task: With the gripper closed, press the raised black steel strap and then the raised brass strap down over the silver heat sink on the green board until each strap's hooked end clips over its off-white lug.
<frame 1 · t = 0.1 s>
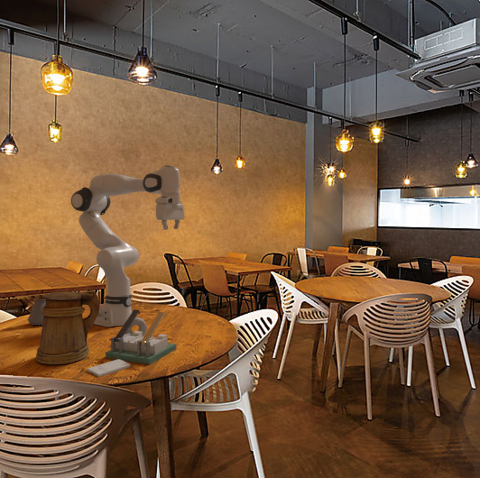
hand: (171, 229, 194), 48 cm above the table, tool pointing down, fingers open, 8 cm apart
board: (142, 353, 162), on the table
coffee pot: (51, 323, 208), on the table
strap black: (127, 325, 163), point 11 cm above the table, hinge at 35.0°
strap brass: (152, 328, 158), point 11 cm above the table, hinge at 35.0°
donut: (135, 340, 180), on the table
external hard drive: (109, 370, 145), on the table
tankard: (69, 356, 159), on the table
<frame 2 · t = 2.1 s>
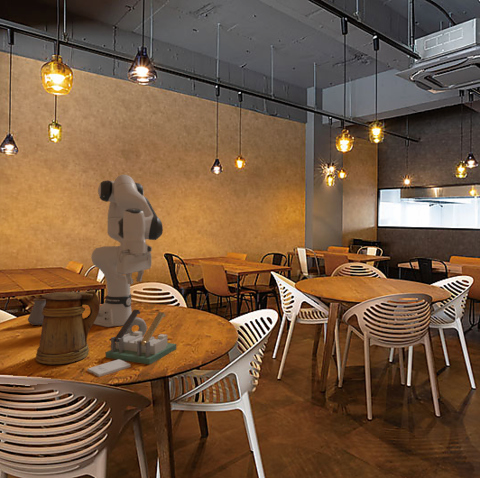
hand: (134, 282, 167), 27 cm above the table, tool pointing down, fingers open, 5 cm apart
nothing on the table moved.
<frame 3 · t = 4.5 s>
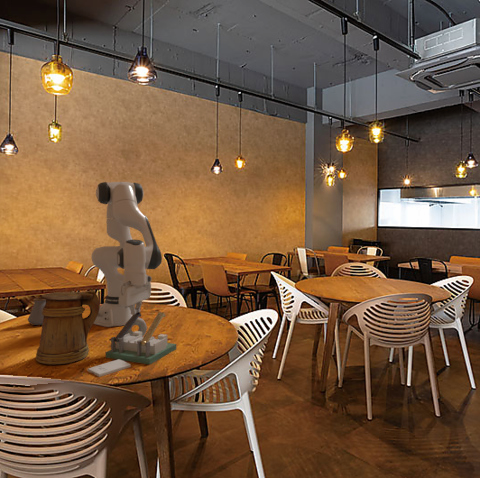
hand: (135, 313, 167), 14 cm above the table, tool pointing down, fingers closed
strap black: (127, 327, 163), point 10 cm above the table, hinge at 29.3°, touching gripper
everything else where it was.
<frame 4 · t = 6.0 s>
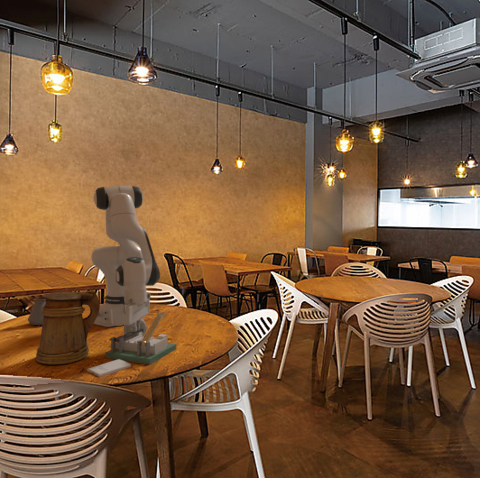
hand: (135, 330, 168), 7 cm above the table, tool pointing down, fingers closed, pressing on strap black
strap black: (129, 335, 164), point 7 cm above the table, hinge at 0.8°, touching gripper
everything else where it was.
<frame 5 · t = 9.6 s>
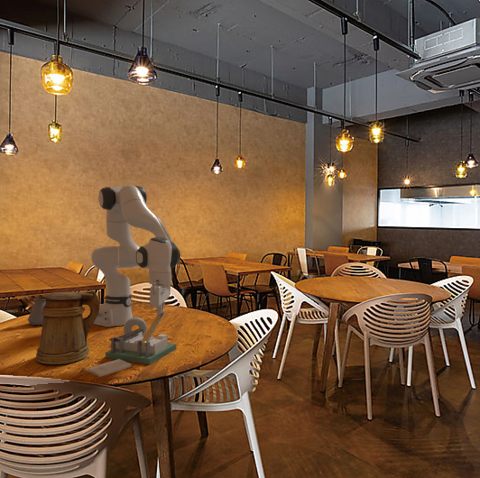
hand: (160, 313, 163), 16 cm above the table, tool pointing down, fingers closed
strap black: (129, 335, 164), point 6 cm above the table, hinge at 0.0°, touching board
strap brass: (152, 329, 158), point 11 cm above the table, hinge at 34.6°, touching gripper
everything else where it was.
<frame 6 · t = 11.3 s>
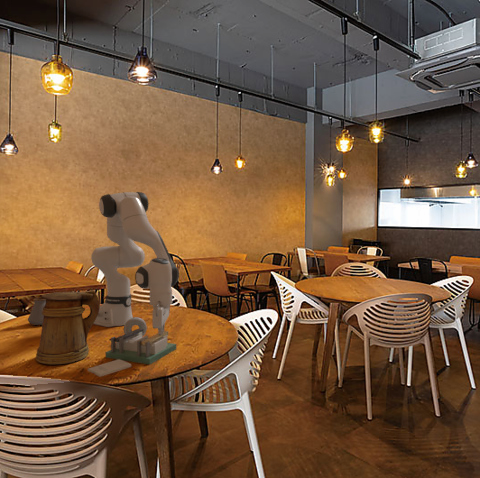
hand: (161, 333, 163), 7 cm above the table, tool pointing down, fingers closed, pressing on strap brass
strap brass: (154, 338, 159), point 7 cm above the table, hinge at 1.3°, touching gripper
everything else where it was.
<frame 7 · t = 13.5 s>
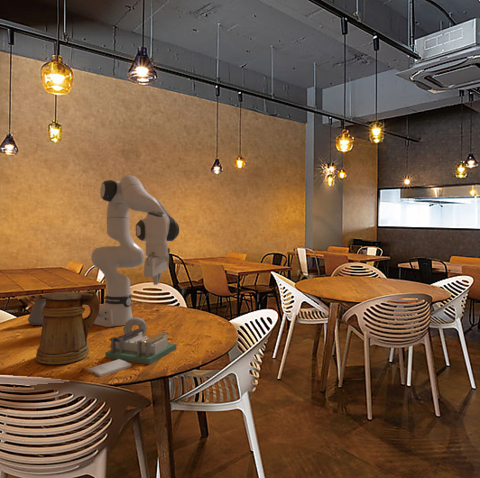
hand: (156, 284, 170), 26 cm above the table, tool pointing down, fingers closed
strap brass: (154, 338, 159), point 6 cm above the table, hinge at 0.1°
everything else where it was.
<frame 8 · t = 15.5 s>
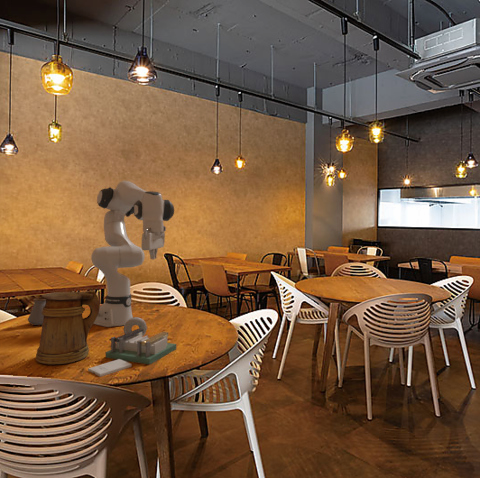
hand: (153, 259, 182), 35 cm above the table, tool pointing down, fingers closed
nothing on the table moved.
at the end: strap black at +0° (first picture: +35°); strap brass at +0° (first picture: +35°) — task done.
